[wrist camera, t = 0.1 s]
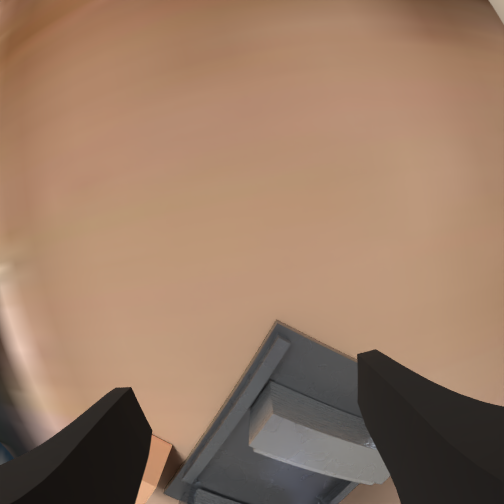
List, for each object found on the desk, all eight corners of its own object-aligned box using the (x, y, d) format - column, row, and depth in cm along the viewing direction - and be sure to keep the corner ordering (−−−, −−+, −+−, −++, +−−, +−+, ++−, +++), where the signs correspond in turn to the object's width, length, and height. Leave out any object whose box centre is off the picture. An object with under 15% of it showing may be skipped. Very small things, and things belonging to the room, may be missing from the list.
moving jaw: (362, 455, 19) (377, 488, 15) (246, 413, 19) (245, 450, 15) (386, 426, 19) (406, 457, 15) (269, 380, 19) (273, 413, 15)
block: (155, 471, 20) (139, 510, 15) (113, 448, 20) (90, 484, 15) (172, 445, 20) (156, 487, 15) (126, 420, 20) (101, 457, 15)
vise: (292, 528, 21) (296, 564, 16) (165, 487, 20) (152, 525, 16) (422, 389, 19) (452, 420, 15) (276, 319, 19) (283, 347, 14)
